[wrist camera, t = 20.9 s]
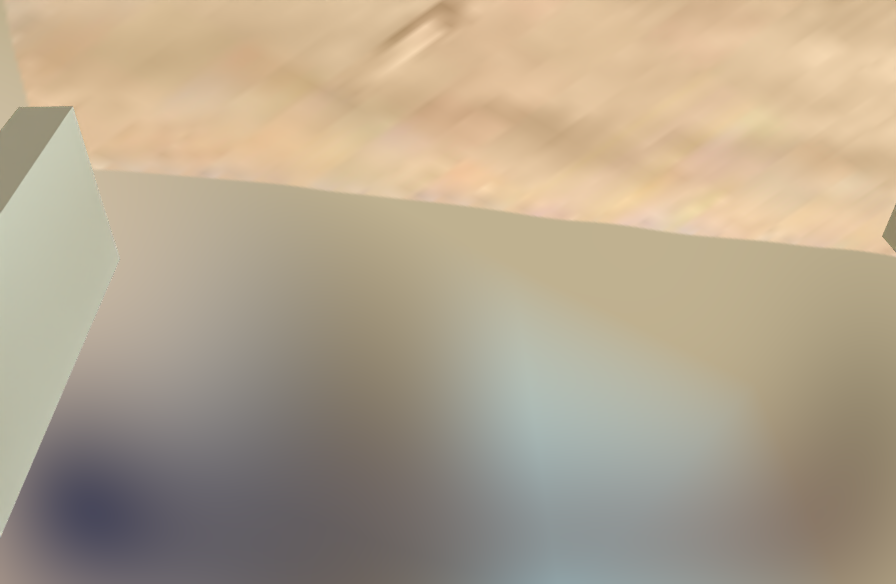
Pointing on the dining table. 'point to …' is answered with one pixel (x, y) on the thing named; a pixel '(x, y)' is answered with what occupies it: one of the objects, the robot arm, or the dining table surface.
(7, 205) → the robot arm
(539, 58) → the dining table surface
